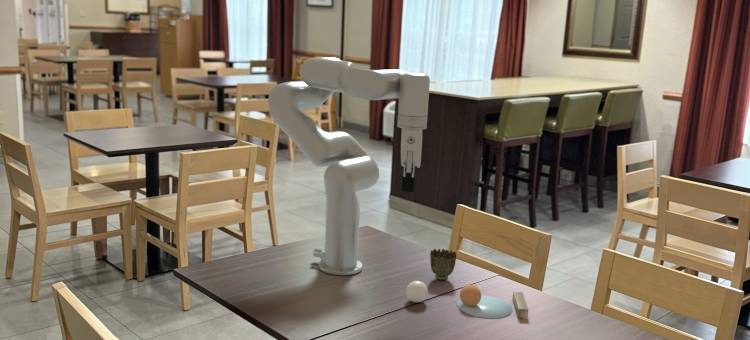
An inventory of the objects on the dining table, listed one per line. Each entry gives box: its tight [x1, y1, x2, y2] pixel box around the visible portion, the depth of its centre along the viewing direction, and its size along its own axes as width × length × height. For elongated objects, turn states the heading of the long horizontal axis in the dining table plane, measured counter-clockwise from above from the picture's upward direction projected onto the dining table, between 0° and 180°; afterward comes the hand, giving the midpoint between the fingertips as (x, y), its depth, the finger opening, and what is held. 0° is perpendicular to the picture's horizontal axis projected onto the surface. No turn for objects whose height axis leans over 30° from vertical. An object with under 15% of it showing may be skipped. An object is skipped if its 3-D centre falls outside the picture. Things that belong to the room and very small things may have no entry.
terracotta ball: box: [459, 284, 482, 306], centre depth 176 cm, size 6×6×6 cm
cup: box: [429, 248, 457, 282], centre depth 193 cm, size 8×7×8 cm
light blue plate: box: [456, 294, 513, 320], centre depth 177 cm, size 14×14×1 cm
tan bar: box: [512, 291, 529, 320], centre depth 176 cm, size 2×11×2 cm, turn 176°
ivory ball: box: [406, 280, 429, 303], centre depth 177 cm, size 6×6×6 cm
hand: (407, 191), depth 180 cm, fingers closed
